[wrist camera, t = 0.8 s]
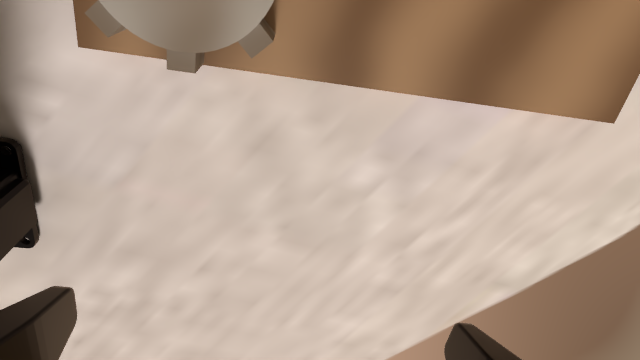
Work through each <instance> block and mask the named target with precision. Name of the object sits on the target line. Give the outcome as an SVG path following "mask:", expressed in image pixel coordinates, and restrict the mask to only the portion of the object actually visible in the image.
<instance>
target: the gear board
mask: <svg viewBox="0 0 640 360" xmlns="http://www.w3.org/2000/svg"><path fill="white" fill-rule="evenodd" d="M73 4H74V13H75V22H76V31H77V40H78V47H82V48H89V49H96V50H103V51H110V52H117V53H124V54H131V55H138V56H145V57H152V58H159V59H166V60H167V69H168V70H175V71H183V72H190V73H196V72H197V71H198V69H199V68H200V67H201V66H202V65H208V66H215V67H222V68H229V69H236V70H243V71H250V72H257V73H264V74H271V75H278V76H285V77H292V78H299V79H306V80H313V81H320V82H327V83H334V84H341V85H348V86H355V87H362V88H369V89H376V90H383V91H390V92H397V93H404V94H411V95H418V96H425V97H432V98H439V99H446V100H453V101H460V102H467V103H474V104H481V105H488V106H495V107H502V108H509V109H516V110H523V111H530V112H537V113H544V114H551V115H558V116H565V117H572V118H579V119H586V120H593V121H600V122H607V123H615V121H616V119H617V117H618V115H619V113H620V111H621V109H622V107H623V105H624V103H625V101H626V99H627V97H628V95H629V93H630V91H631V90H632V88H633V86H634V84H635V82H636V80H637V78H638V76H639V74H640V0H73Z"/></svg>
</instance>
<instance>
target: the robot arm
mask: <svg viewBox="0 0 640 360" xmlns="http://www.w3.org/2000/svg"><path fill="white" fill-rule="evenodd" d="M5 146H6V147H9V148H10V149H11V151H12V152H10V151H8V150H7V149H6V147H5ZM36 223H37V215H36V210H35V205H34V200H33V195H32V189H31V184H30V183H29V181H28V179H27V174H26V169H25V163H24V158H23V153H22V148H21V146H20V144H19V143H18V142H17V141H15V140H13V139H10V138H2V137H0V261H1V260H2V258H3V257H4V256H5V255H6V254H7V253H8V252H9V251H10V250H11V249H12V248H13V247H19V248H32V247H34V245H35V244H36V243H37V242H38V241H39V235H38V230H37V225H36ZM25 237H26V238H28V239H29V240H27V239H26V238H25ZM76 320H77V309H76V302H75V294H74V290H73V289H72V288H70V287H60V286H53V287H50V288H48V289H46V290H43V291H41V292H39V293H37V294H35V295H33V296H30V297H28V298H26V299H24V300H22V301H19V302H17V303H15V304H13V305H11V306H9V307H6V308H4V309H2V310H0V360H58V359H59V357H60V355H61V353H62V351H63V349H64V347H65V345H66V343H67V341H68V339H69V337H70V335H71V333H72V331H73V329H74V326H75V324H76ZM445 358H446V360H522V359H520V358H519V357H517V356H516V355H515V354H513V353H512V352H510V351H509V350H508V349H506V348H505V347H503V346H502V345H501V344H499V343H498V342H496V341H495V340H494V339H492V338H491V337H489V336H488V335H486V334H485V333H484V332H482V331H481V330H480V329H478V328H477V327H475V326H474V325H472V324H467V323H456V324H455V325H454V327H453V329H452V331H451V333H450V335H449V338H448V340H447V342H446V345H445Z"/></svg>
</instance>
